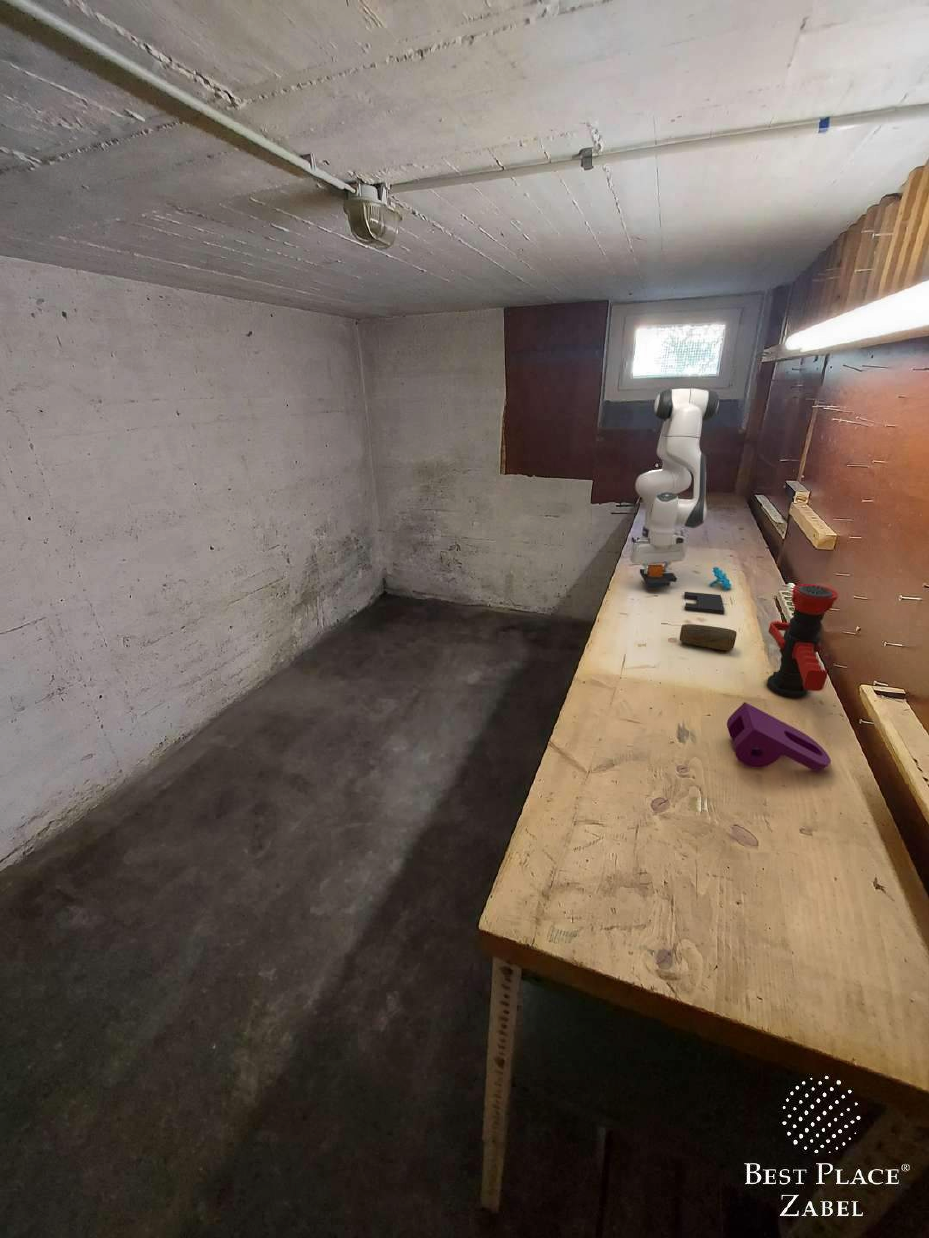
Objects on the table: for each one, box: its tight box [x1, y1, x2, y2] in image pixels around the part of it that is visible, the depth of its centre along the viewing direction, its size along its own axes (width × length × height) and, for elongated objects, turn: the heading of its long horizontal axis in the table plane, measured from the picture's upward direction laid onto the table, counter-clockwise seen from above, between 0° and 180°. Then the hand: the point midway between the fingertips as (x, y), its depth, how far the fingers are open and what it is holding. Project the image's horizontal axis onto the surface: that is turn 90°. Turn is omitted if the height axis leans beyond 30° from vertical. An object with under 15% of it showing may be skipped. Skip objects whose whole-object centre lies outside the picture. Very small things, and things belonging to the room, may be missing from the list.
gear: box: [709, 566, 732, 590], centre depth 185 cm, size 11×6×10 cm
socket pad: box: [683, 591, 725, 615], centre depth 172 cm, size 14×12×2 cm
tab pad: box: [638, 563, 678, 587], centre depth 185 cm, size 14×12×6 cm
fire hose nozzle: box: [766, 583, 839, 699], centre depth 117 cm, size 10×28×25 cm
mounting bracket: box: [726, 701, 832, 772], centre depth 102 cm, size 10×8×18 cm
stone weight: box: [678, 623, 738, 651], centre depth 144 cm, size 15×7×7 cm, turn 65°
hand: (655, 572), depth 185 cm, fingers closed on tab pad, 5 cm apart
